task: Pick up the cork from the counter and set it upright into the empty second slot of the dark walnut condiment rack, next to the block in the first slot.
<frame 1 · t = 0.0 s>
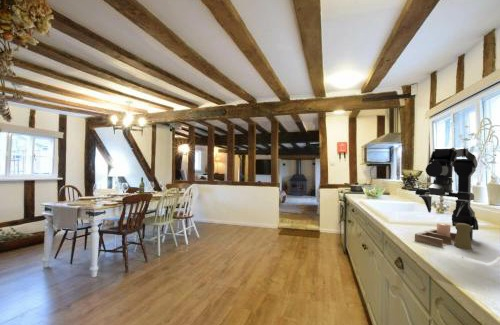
hand: (442, 214, 103), 15 cm above the worktop, tool pointing down, fingers open, 9 cm apart
cork: (462, 249, 104), on the worktop
block: (443, 239, 115), point 1 cm above the worktop, touching condiment rack
condiment rack: (436, 242, 113), on the worktop
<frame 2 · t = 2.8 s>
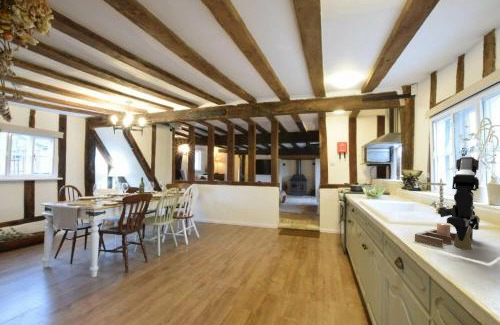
hand: (462, 239, 104), 4 cm above the worktop, tool pointing down, fingers closed on cork, 4 cm apart
cork: (462, 249, 104), on the worktop, touching gripper
everything else where it was.
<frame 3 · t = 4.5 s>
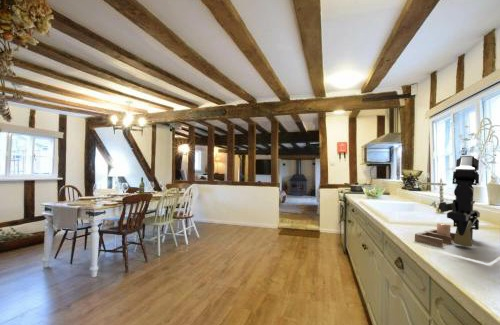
hand: (463, 234, 104), 6 cm above the worktop, tool pointing down, fingers closed on cork, 4 cm apart
cork: (462, 244, 104), point 2 cm above the worktop, touching gripper
everything else where it was.
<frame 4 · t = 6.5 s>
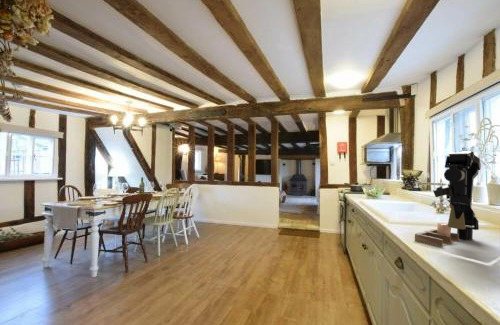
hand: (456, 218, 106), 13 cm above the worktop, tool pointing down, fingers closed on cork, 4 cm apart
cork: (456, 227, 106), point 9 cm above the worktop, touching gripper
everything else where it was.
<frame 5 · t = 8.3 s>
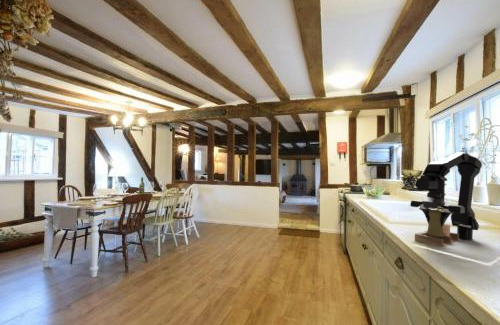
hand: (435, 225, 110), 8 cm above the worktop, tool pointing down, fingers closed on cork, 4 cm apart
cork: (435, 235, 110), point 4 cm above the worktop, touching gripper
everything else where it was.
when the fingers open (6 cm above the worktop, at t = 9.8 s): cork drops 1 cm, resting on condiment rack.
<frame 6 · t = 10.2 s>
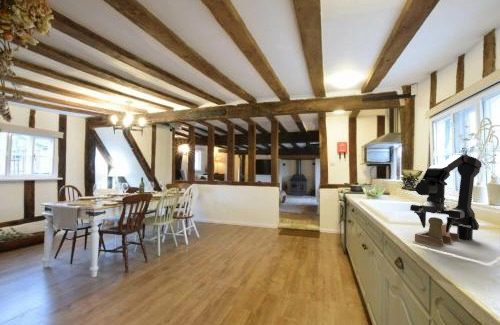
hand: (435, 230, 110), 6 cm above the worktop, tool pointing down, fingers open, 8 cm apart
cork: (434, 242, 110), point 1 cm above the worktop, touching condiment rack
everything else where it was.
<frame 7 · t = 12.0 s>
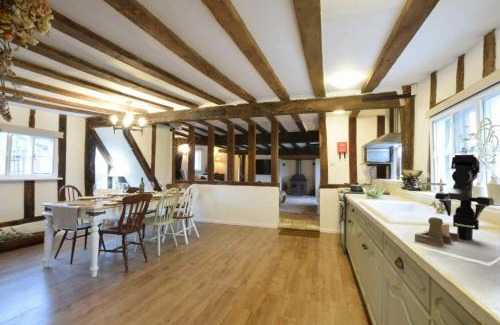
hand: (462, 218, 108), 13 cm above the worktop, tool pointing down, fingers open, 9 cm apart
nothing on the worktop moved.
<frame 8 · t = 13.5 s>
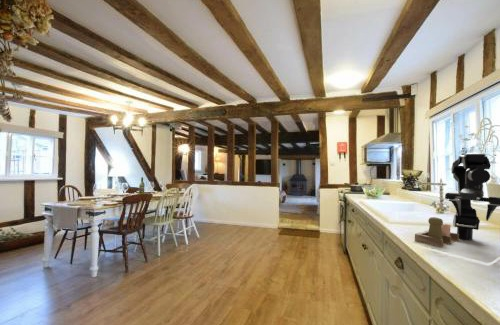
hand: (472, 218, 107), 13 cm above the worktop, tool pointing down, fingers open, 9 cm apart
nothing on the worktop moved.
at the end: cork inside the target area (0.5 cm from its centre), point 0.8 cm above the worktop; cork tilted 0°; block moved 0.2 cm from its start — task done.
